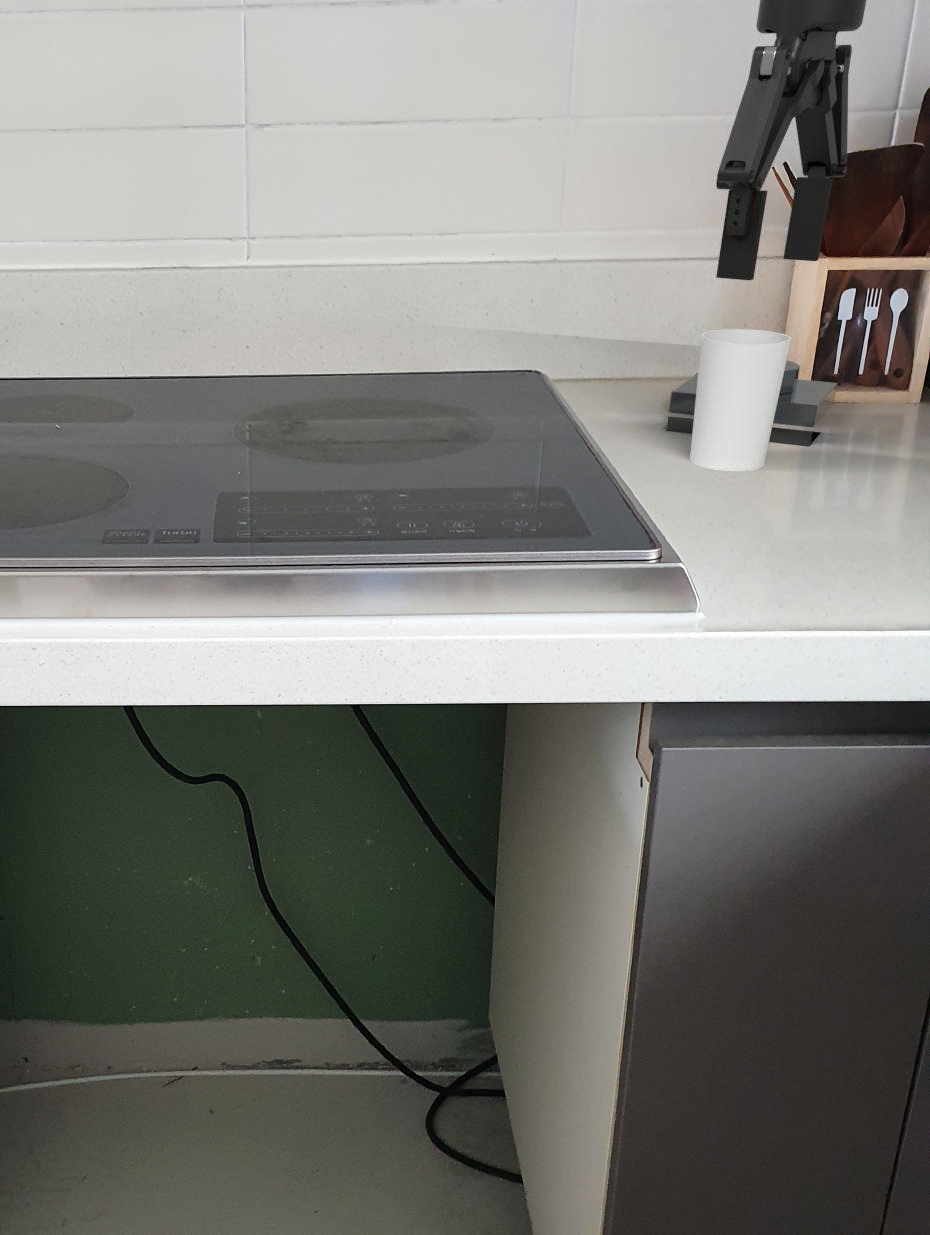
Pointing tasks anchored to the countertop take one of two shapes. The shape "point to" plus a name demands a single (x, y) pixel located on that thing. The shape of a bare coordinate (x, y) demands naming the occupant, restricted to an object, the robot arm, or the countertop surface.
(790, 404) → the push button base
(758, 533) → the countertop surface
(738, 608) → the countertop surface
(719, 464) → the white cup
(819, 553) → the countertop surface
